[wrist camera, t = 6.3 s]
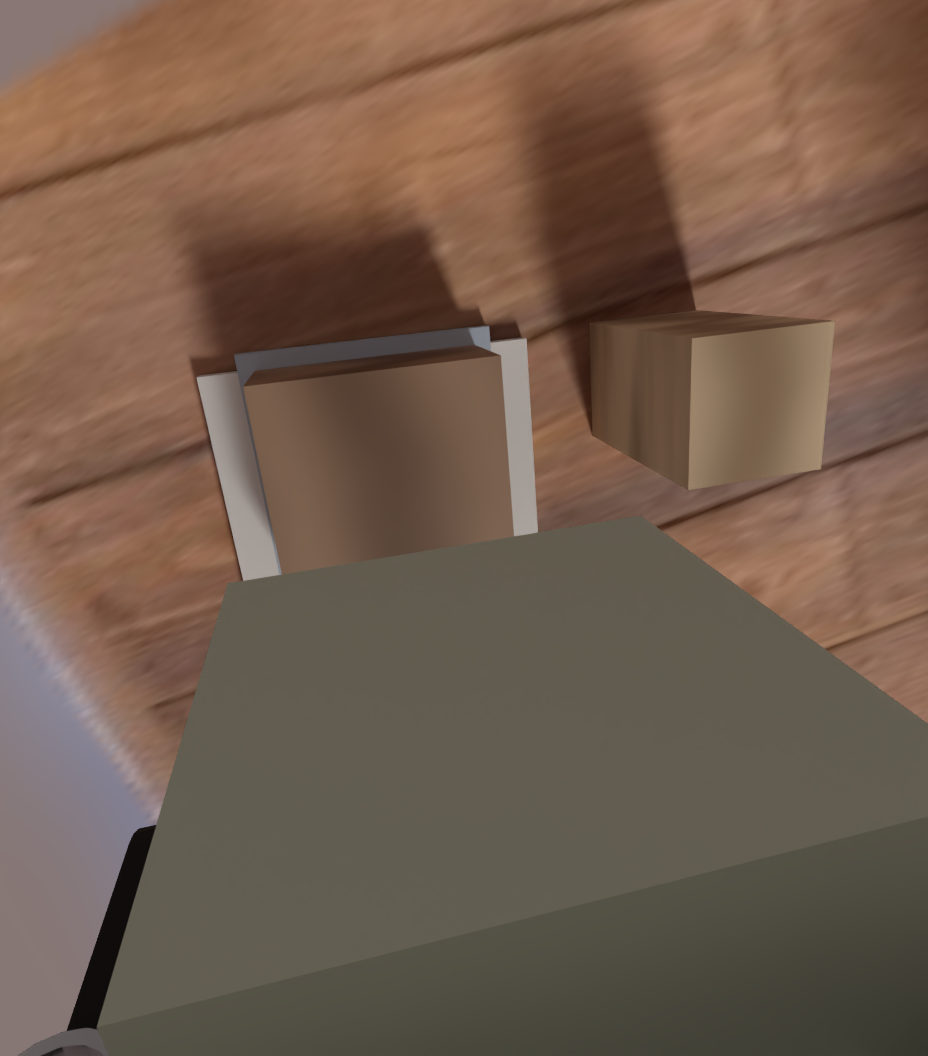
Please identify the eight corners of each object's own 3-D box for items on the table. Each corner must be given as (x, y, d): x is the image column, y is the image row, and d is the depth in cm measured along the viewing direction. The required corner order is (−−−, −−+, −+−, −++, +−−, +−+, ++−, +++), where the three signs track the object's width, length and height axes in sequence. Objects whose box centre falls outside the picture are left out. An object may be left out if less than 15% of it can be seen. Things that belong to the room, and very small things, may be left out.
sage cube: (640, 515, 10) (1022, 793, 5) (640, 826, 12) (903, 1268, 7) (228, 583, 9) (97, 1026, 4) (304, 906, 11) (293, 1493, 6)
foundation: (474, 344, 25) (500, 355, 22) (491, 543, 28) (517, 582, 25) (254, 370, 24) (242, 386, 21) (295, 574, 27) (291, 621, 23)
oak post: (696, 310, 27) (835, 320, 20) (693, 421, 29) (820, 469, 22) (589, 322, 27) (692, 338, 19) (592, 435, 28) (688, 490, 21)
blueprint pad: (521, 321, 26) (525, 322, 26) (545, 724, 33) (549, 732, 32) (195, 358, 24) (192, 360, 24) (291, 777, 31) (290, 786, 30)
